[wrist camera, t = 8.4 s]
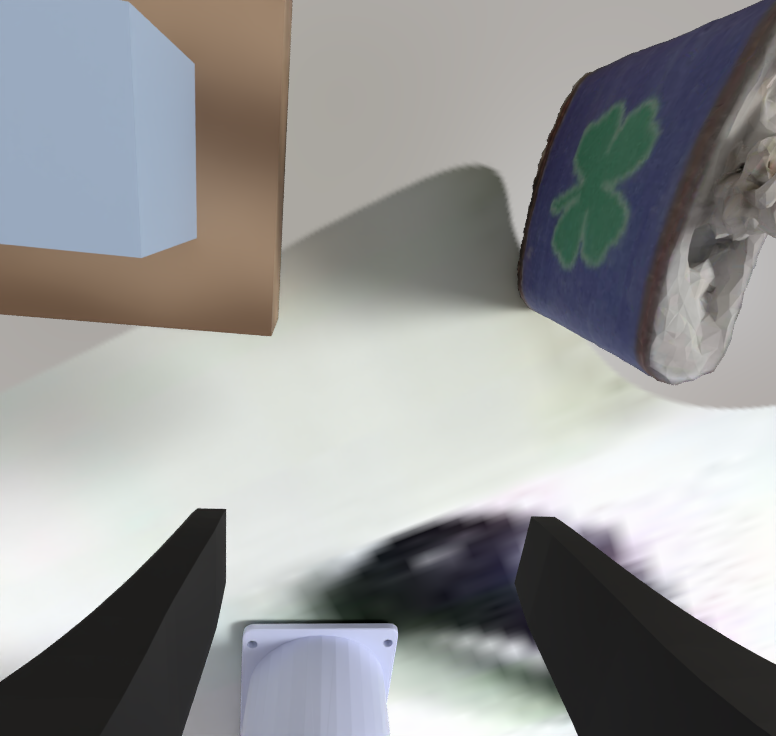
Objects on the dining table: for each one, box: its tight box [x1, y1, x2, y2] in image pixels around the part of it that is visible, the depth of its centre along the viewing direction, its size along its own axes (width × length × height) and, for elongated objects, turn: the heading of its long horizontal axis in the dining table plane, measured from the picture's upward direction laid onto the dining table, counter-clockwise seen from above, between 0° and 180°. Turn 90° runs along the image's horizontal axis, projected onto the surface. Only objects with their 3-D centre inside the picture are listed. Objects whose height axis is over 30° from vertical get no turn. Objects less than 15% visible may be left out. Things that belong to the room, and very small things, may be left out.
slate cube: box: [0, 0, 197, 258], centre depth 12 cm, size 5×5×5 cm
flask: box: [517, 0, 776, 385], centre depth 14 cm, size 9×3×11 cm, turn 168°
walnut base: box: [0, 0, 292, 336], centre depth 16 cm, size 12×10×2 cm
